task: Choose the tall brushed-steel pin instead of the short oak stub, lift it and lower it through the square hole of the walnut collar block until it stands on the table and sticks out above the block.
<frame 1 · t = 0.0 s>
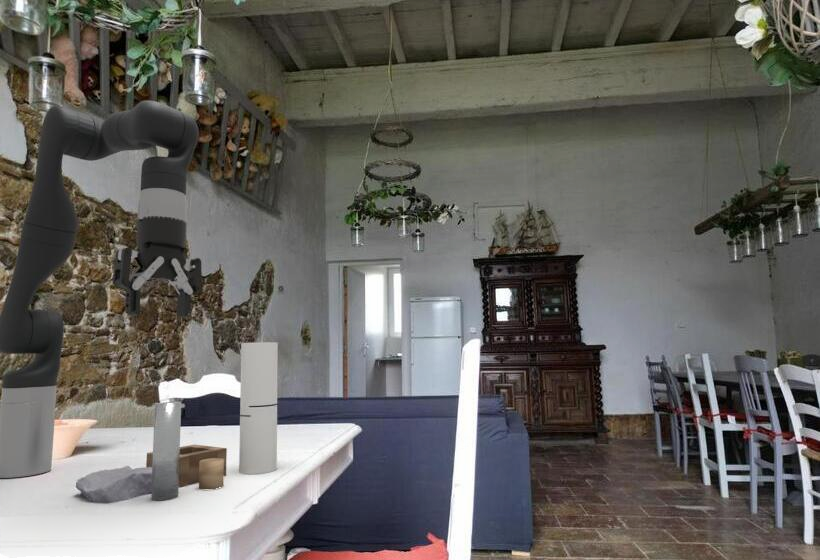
hand: (158, 316, 87), 29 cm above the table, tool pointing down, fingers open, 8 cm apart
collar: (186, 478, 99), on the table
steel pin: (164, 497, 86), on the table
stone block: (113, 496, 89), on the table
oak stub: (211, 487, 92), on the table
cylindrical container: (258, 471, 104), on the table
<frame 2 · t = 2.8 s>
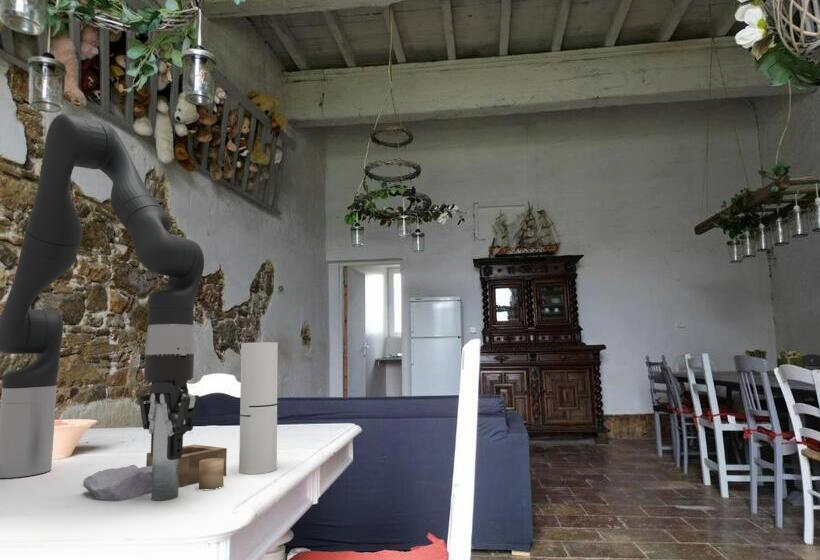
hand: (166, 457, 86), 6 cm above the table, tool pointing down, fingers closed on steel pin, 4 cm apart
steel pin: (164, 497, 86), on the table, touching gripper
stone block: (120, 495, 90), on the table
everything else where it was.
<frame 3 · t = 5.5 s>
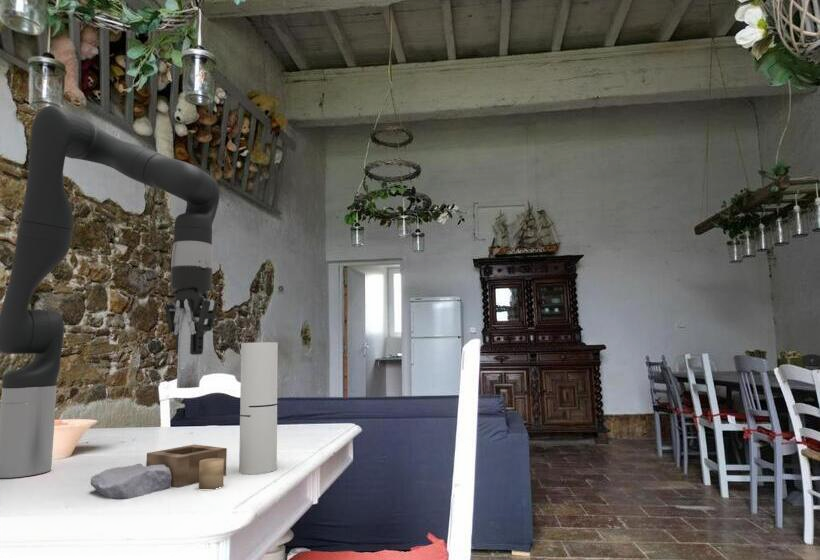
hand: (189, 354, 102), 23 cm above the table, tool pointing down, fingers closed on steel pin, 4 cm apart
steel pin: (188, 387, 101), point 17 cm above the table, touching gripper
stone block: (127, 493, 91), on the table
everything else where it was.
when the fingers open (7 cm above the table, at t = 8.5 s): steel pin stays where it is, resting in collar.
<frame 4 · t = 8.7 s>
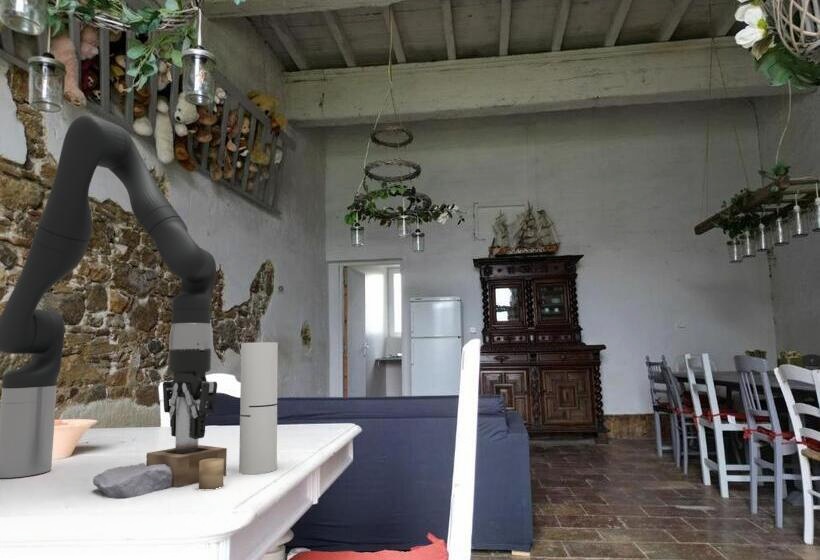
hand: (187, 436, 100), 8 cm above the table, tool pointing down, fingers open, 6 cm apart
steel pin: (186, 478, 99), resting in collar
stone block: (129, 492, 91), on the table, touching collar
everything else where it was.
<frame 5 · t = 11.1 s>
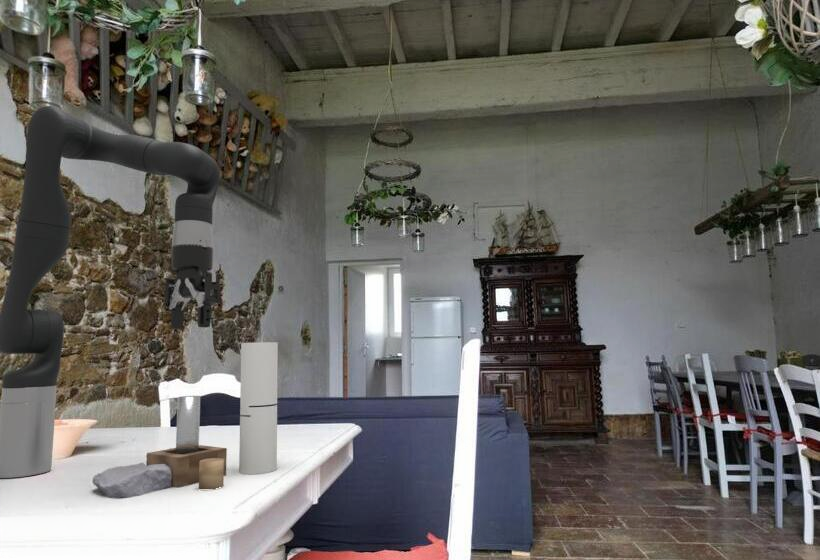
hand: (190, 328, 103), 28 cm above the table, tool pointing down, fingers open, 8 cm apart
stone block: (128, 492, 92), on the table
everything else where it was.
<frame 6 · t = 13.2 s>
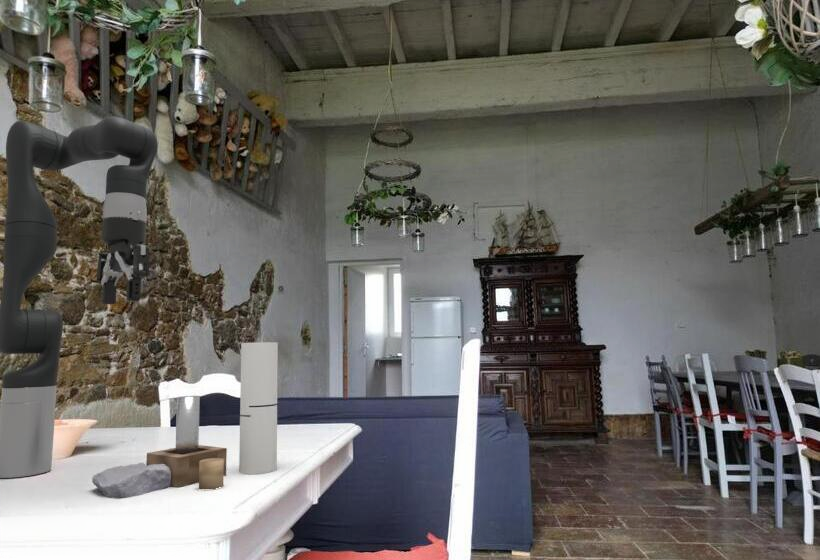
hand: (120, 302, 101), 33 cm above the table, tool pointing down, fingers open, 8 cm apart
nothing on the table moved.
at the end: steel pin 0.0 cm off-centre on the collar, point 0.0 cm above the collar's base; steel pin tilted 0°; steel pin touching table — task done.
